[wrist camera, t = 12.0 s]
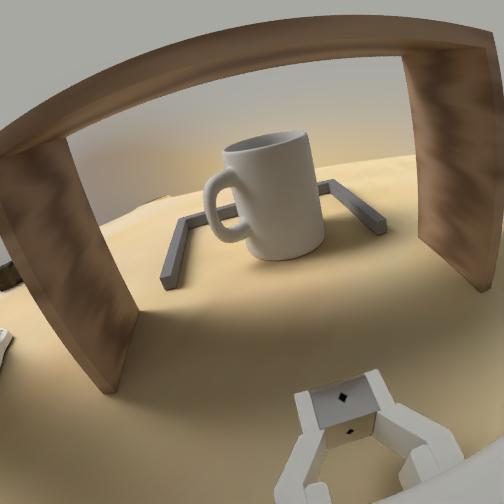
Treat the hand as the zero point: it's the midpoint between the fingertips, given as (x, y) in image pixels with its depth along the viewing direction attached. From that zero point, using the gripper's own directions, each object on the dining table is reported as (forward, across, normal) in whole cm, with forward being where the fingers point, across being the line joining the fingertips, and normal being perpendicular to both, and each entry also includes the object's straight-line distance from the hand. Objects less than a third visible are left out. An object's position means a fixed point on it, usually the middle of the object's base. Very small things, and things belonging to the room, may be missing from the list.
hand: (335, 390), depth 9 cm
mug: (+23, 0, +6) cm, 23 cm away
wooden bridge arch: (+12, 0, +6) cm, 13 cm away
